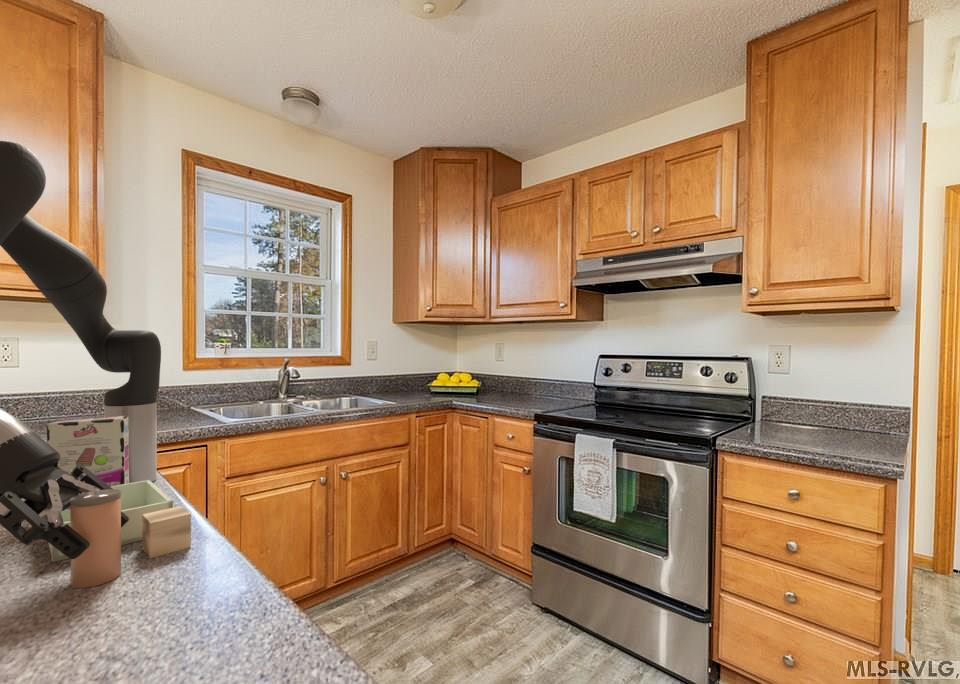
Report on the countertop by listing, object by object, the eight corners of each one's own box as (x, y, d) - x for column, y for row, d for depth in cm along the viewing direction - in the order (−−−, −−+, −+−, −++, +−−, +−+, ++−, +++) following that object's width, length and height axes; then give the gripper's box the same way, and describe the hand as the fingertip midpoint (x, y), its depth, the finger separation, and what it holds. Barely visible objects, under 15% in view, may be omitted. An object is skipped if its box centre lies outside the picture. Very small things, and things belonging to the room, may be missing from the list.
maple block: (142, 548, 69) (142, 514, 69) (181, 538, 73) (181, 505, 73) (150, 558, 66) (150, 523, 66) (190, 547, 69) (190, 513, 69)
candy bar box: (130, 498, 91) (130, 414, 91) (124, 506, 87) (124, 418, 87) (55, 508, 86) (55, 419, 86) (45, 517, 82) (45, 423, 82)
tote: (44, 528, 76) (44, 497, 76) (148, 506, 87) (149, 479, 87) (52, 562, 64) (52, 525, 64) (172, 532, 75) (172, 501, 75)
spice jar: (87, 570, 62) (86, 490, 62) (130, 566, 63) (129, 487, 63) (59, 590, 57) (59, 503, 57) (107, 585, 58) (106, 500, 58)
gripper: (-25, 442, 52) (93, 538, 54) (63, 421, 66) (154, 498, 68) (-84, 493, 50) (39, 589, 53) (19, 461, 64) (113, 538, 67)
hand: (104, 538), depth 60 cm, fingers open, 8 cm apart
